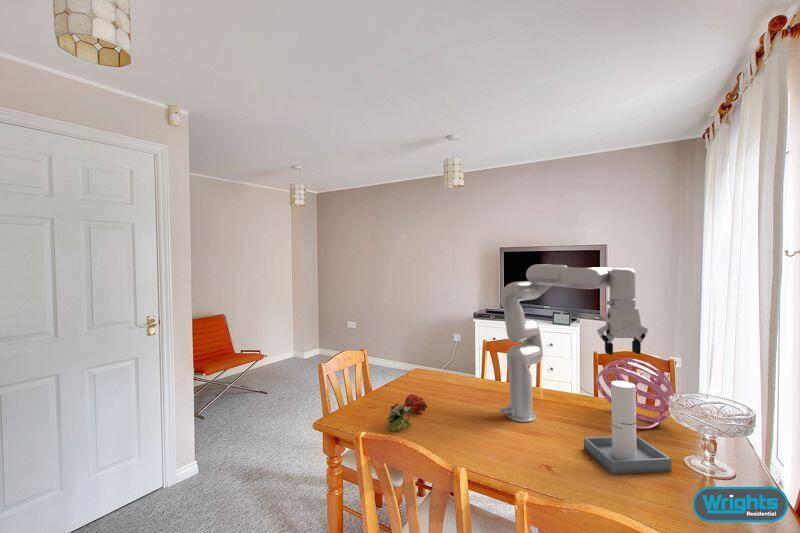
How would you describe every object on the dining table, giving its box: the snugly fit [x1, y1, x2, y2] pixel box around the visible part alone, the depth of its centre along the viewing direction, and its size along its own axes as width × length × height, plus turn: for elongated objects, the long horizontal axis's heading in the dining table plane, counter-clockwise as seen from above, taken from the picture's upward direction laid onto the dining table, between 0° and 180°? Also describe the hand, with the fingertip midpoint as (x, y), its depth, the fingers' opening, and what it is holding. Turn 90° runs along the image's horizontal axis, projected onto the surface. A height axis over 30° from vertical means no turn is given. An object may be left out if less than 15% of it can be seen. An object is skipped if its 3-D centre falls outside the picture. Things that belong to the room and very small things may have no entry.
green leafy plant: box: [386, 403, 413, 433], centre depth 152 cm, size 11×11×12 cm
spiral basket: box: [596, 357, 675, 430], centre depth 152 cm, size 28×28×27 cm
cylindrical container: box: [610, 380, 637, 460], centre depth 124 cm, size 7×7×25 cm
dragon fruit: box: [403, 393, 428, 415], centre depth 168 cm, size 8×8×12 cm
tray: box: [583, 434, 673, 475], centre depth 124 cm, size 20×16×4 cm
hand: (622, 353), depth 124 cm, fingers open, 9 cm apart
